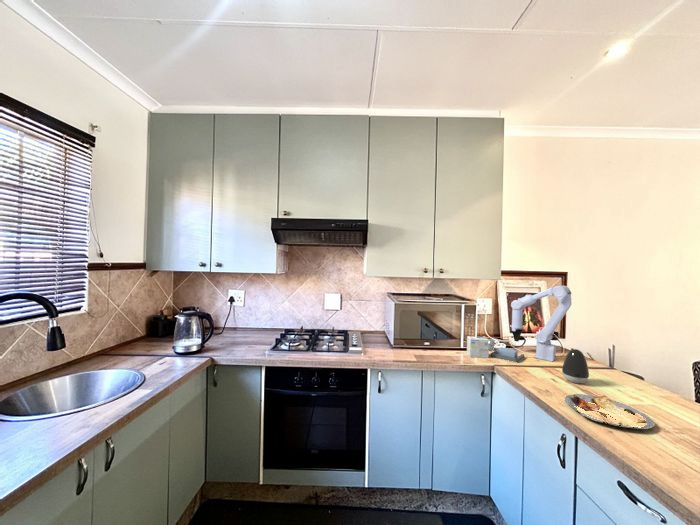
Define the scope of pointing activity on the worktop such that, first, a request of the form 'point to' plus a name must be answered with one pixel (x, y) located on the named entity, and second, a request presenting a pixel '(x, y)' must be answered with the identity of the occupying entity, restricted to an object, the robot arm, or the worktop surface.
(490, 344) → the grey metal canister
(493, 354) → the display bay
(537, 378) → the worktop surface
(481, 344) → the light bulb box
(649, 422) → the food plate
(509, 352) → the carton
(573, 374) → the dark grey rounded dome
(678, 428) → the worktop surface
